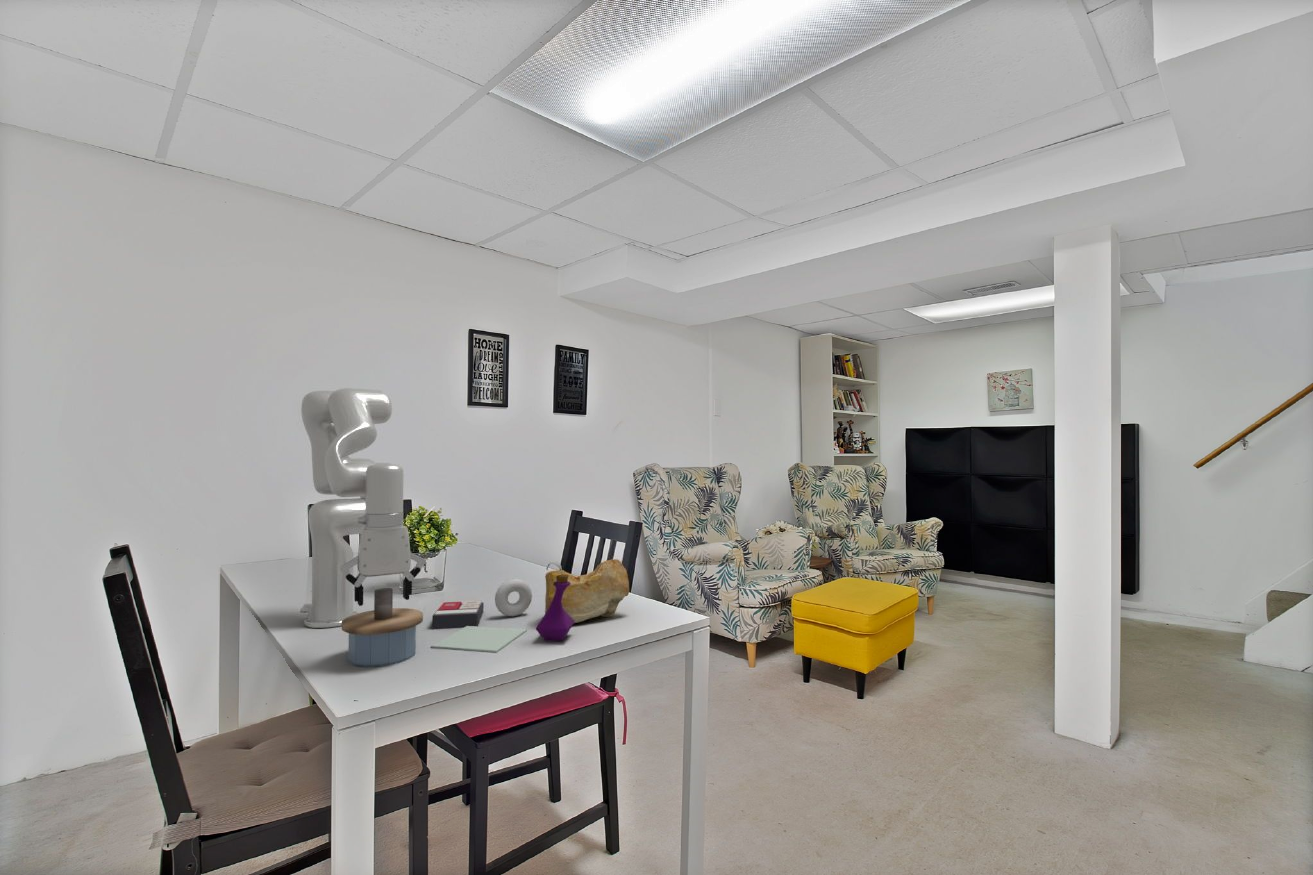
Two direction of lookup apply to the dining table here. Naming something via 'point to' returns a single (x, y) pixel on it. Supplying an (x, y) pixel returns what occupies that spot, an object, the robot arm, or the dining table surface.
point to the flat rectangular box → (458, 615)
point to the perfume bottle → (556, 613)
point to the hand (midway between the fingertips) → (383, 601)
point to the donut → (504, 592)
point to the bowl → (382, 648)
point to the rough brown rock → (591, 591)
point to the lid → (382, 617)
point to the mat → (480, 639)
